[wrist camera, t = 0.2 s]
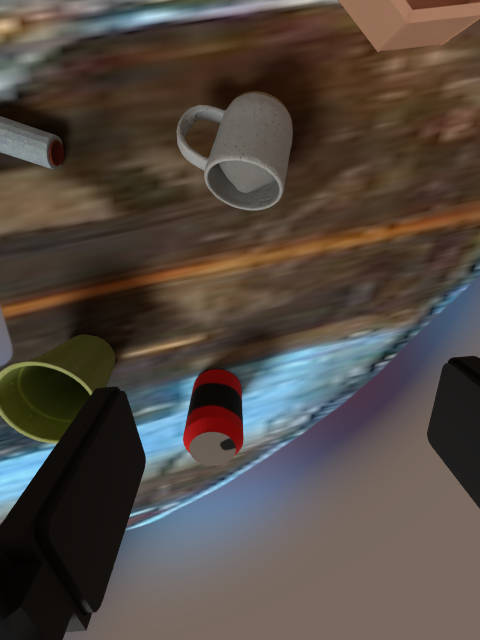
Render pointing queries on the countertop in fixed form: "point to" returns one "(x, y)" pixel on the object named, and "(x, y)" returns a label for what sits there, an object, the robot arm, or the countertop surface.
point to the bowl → (411, 21)
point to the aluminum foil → (30, 144)
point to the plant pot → (54, 386)
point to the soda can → (214, 418)
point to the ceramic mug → (244, 149)
